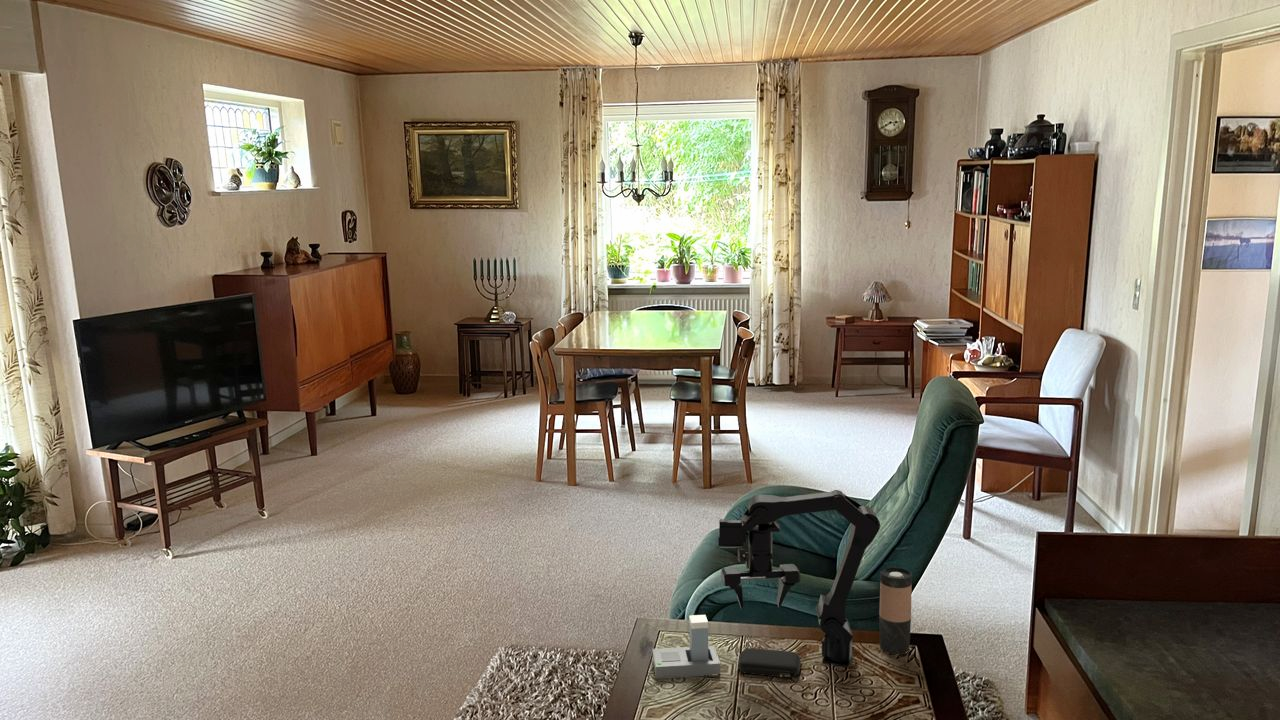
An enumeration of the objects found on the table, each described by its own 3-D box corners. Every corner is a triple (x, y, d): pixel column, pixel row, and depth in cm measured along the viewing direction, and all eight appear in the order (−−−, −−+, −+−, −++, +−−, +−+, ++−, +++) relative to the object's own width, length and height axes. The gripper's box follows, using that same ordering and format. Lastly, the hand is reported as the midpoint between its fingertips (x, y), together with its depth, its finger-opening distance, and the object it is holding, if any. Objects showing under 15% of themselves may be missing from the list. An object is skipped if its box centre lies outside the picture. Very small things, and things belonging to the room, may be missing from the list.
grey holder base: (714, 656, 219) (714, 645, 219) (720, 675, 211) (720, 663, 210) (652, 660, 218) (652, 648, 218) (656, 678, 210) (655, 666, 209)
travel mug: (914, 655, 218) (916, 578, 215) (883, 655, 218) (884, 579, 215) (905, 640, 226) (907, 566, 223) (875, 641, 226) (876, 567, 223)
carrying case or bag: (736, 677, 210) (798, 683, 207) (736, 665, 210) (798, 671, 206) (741, 656, 220) (801, 661, 217) (741, 645, 220) (801, 650, 216)
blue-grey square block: (705, 662, 217) (705, 614, 215) (708, 670, 213) (707, 622, 211) (689, 663, 217) (689, 615, 215) (692, 671, 213) (691, 622, 211)
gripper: (790, 534, 223) (789, 592, 225) (717, 537, 222) (717, 596, 224) (801, 550, 212) (800, 611, 214) (724, 553, 211) (725, 615, 213)
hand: (760, 607), depth 217 cm, fingers open, 9 cm apart
